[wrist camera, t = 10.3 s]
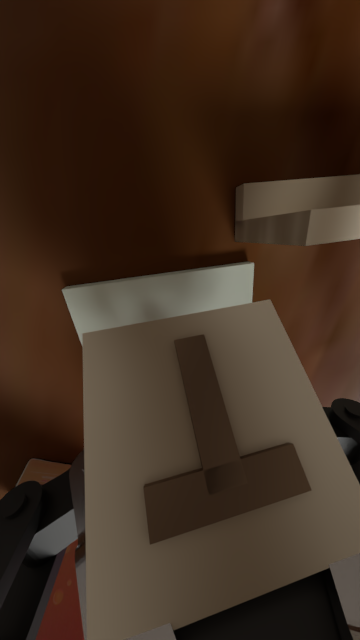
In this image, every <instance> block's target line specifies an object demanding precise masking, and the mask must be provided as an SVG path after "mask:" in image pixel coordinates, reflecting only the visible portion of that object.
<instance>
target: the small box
mask: <svg viewBox="0 0 360 640" xmlns="http://www.w3.org/2000/svg"><path fill="white" fill-rule="evenodd" d="M70 467H71V465H69V464H62V463H56V462H50V461H45V460H41V459H34V458H32V459H30V460H29V462H28V463H27V465H26V467H25V469H24V471H23V473H22V475H21V477H20V479H19V481H18V483H17V484H16V486H18V485H19V484H21V483H23V482H26V481H37V482H39V483H40V484H41V486H42V485H44V484H45V483H47V482H49V481H50V480H52V479H54V478H56V477H57V476H59V475H61V474H62V473H64V472H66V471H67V470H68V469H69V468H70ZM16 486H15V487H16ZM77 546H78V539H76V540H75V541H74V542H72V543H71V544H70V545H68V546H67V549H66V552H65V555H64V557H63V560H62V563H61V566H60V569H59V572H58V575H57V578H56V581H55V584H54V587H53V590H52V593H51V596H50V598H49V601H48V604H47V607H46V610H45V613H44V616H43V619H42V622H41V625H40V628H39V631H38V634H37V636H36V639H35V640H84V634H83V626H82V617H81V609H80V601H79V593H78V585H77V577H76V568H75V549H76V547H77Z"/></svg>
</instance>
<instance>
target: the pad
mask: <svg viewBox="0 0 360 640" xmlns="http://www.w3.org/2000/svg"><path fill="white" fill-rule="evenodd" d="M253 275H254V263H252V262H241V263H234V264H226V265H219V266H212V267H205V268H197V269H190V270H183V271H176V272H168V273H161V274H154V275H146V276H139V277H132V278H125V279H117V280H110V281H103V282H95V283H88V284H81V285H74V286H66V287H65V288H63V289H62V292H63V295H64V298H65V300H66V303H67V306H68V309H69V311H70V314H71V317H72V320H73V322H74V325H75V328H76V331H77V333H78V336H79V339H80V342H81V344H82V347H83V335H82V333H87V332H93V331H98V330H104V329H109V328H115V327H121V326H126V325H132V324H137V323H143V322H148V321H154V320H159V319H165V318H170V317H176V316H181V315H187V314H192V313H198V312H203V311H209V310H215V309H220V308H226V307H231V306H237V305H242V304H248V303H252V293H253Z"/></svg>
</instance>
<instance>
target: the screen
mask: <svg viewBox="0 0 360 640" xmlns="http://www.w3.org/2000/svg"><path fill="white" fill-rule="evenodd" d="M353 239H360V174H358V175H346V176H333V177H320V178H308V179H295V180H282V181H270V182H257V183H244V184H242V185H240V186H238V187H236V212H235V242H250V243H267V244H284V245H301V246H308V245H315V244H323V243H330V242H338V241H346V240H353Z"/></svg>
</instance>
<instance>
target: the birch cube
mask: <svg viewBox="0 0 360 640" xmlns="http://www.w3.org/2000/svg"><path fill="white" fill-rule="evenodd" d="M82 335H83V402H84V469H85V536H86V603H87V640H125V639H127V638H130V637H133V636H135V635H138V634H141V633H144V632H146V631H149V630H152V629H155V628H157V627H160V626H163V625H165V624H168V623H170V624H171V626H172V629H173V630H176V629H178V628H181V627H183V626H186V625H188V624H191V623H193V622H196V621H198V620H201V619H203V618H206V617H208V616H211V615H213V614H216V613H218V612H221V611H223V610H226V609H228V608H231V607H233V606H236V605H238V604H241V603H243V602H246V601H248V600H251V599H253V598H256V597H258V596H260V595H263V594H265V593H268V592H270V591H273V590H275V589H278V588H280V587H283V586H285V585H288V584H290V583H293V582H295V581H298V580H300V579H303V578H305V577H308V576H310V575H313V574H315V573H318V572H320V571H323V570H325V569H328V568H329V564H332V563H334V562H337V561H340V560H342V559H345V558H348V557H351V556H353V555H356V554H359V553H360V484H359V482H358V480H357V478H356V476H355V474H354V472H353V470H352V468H351V466H350V463H349V461H348V459H347V457H346V455H345V453H344V451H343V449H342V447H341V445H340V443H339V441H338V439H337V437H336V435H335V432H334V430H333V428H332V426H331V424H330V422H329V420H328V418H327V416H326V414H325V412H324V410H323V408H322V406H321V404H320V401H319V399H318V397H317V395H316V393H315V391H314V389H313V387H312V385H311V383H310V381H309V379H308V377H307V375H306V372H305V370H304V368H303V366H302V364H301V362H300V360H299V358H298V356H297V354H296V352H295V350H294V348H293V346H292V344H291V341H290V339H289V337H288V335H287V333H286V331H285V329H284V327H283V325H282V323H281V321H280V319H279V317H278V315H277V313H276V310H275V308H274V306H273V304H272V302H271V300H264V301H259V302H253V303H248V304H242V305H237V306H231V307H226V308H220V309H215V310H209V311H203V312H198V313H192V314H187V315H181V316H176V317H170V318H165V319H159V320H154V321H148V322H143V323H137V324H132V325H126V326H121V327H115V328H109V329H104V330H98V331H93V332H87V333H82Z"/></svg>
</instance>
